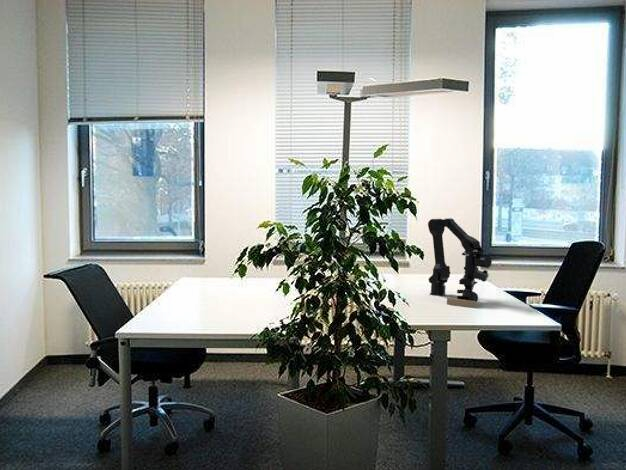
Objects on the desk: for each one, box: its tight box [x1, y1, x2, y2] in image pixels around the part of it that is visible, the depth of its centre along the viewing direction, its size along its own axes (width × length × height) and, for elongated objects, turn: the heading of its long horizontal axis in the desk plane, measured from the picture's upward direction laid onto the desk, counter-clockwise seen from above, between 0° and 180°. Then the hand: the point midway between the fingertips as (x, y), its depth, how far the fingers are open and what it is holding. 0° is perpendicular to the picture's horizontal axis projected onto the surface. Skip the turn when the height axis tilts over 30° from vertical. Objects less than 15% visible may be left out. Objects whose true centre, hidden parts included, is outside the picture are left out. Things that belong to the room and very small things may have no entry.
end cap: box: [456, 287, 479, 302], centre depth 314 cm, size 10×7×7 cm
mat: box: [446, 297, 485, 309], centre depth 316 cm, size 14×15×3 cm
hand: (469, 296), depth 322 cm, fingers closed
